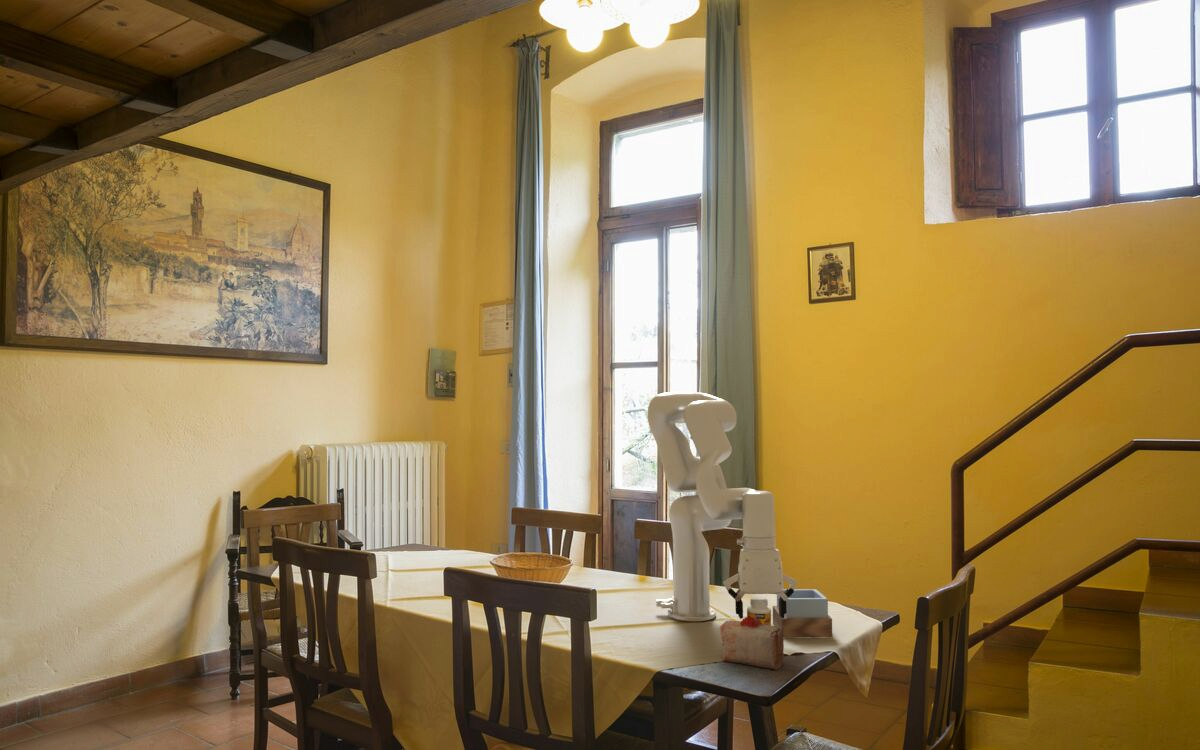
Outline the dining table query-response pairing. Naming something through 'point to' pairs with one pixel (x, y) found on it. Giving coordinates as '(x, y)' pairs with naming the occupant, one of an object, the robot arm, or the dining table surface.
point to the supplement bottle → (760, 610)
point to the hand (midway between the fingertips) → (761, 617)
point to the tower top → (806, 604)
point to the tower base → (803, 625)
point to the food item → (752, 643)
